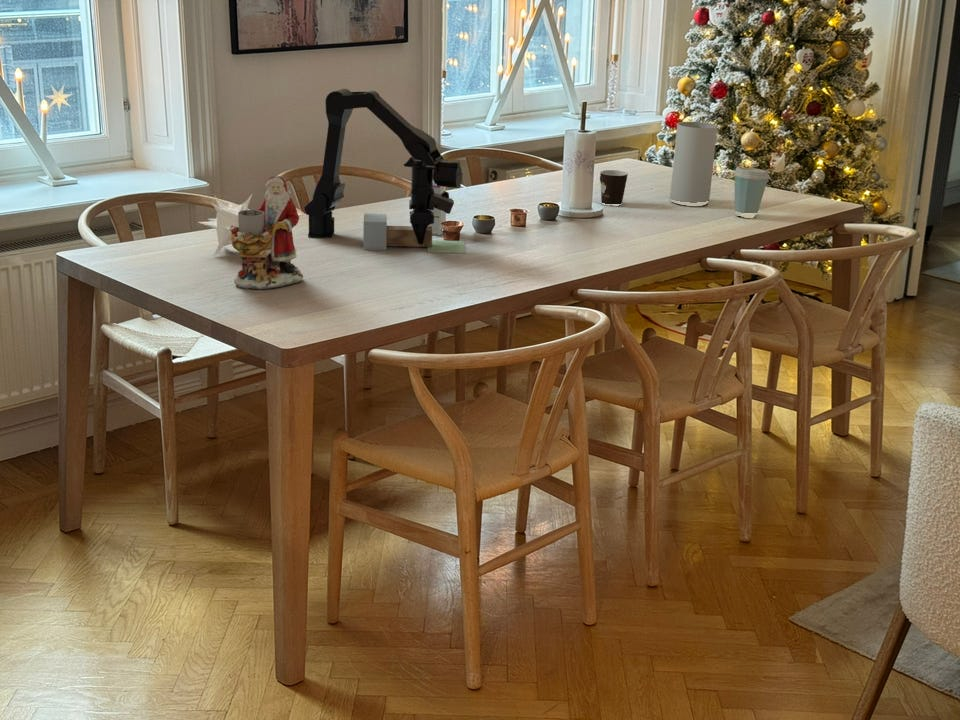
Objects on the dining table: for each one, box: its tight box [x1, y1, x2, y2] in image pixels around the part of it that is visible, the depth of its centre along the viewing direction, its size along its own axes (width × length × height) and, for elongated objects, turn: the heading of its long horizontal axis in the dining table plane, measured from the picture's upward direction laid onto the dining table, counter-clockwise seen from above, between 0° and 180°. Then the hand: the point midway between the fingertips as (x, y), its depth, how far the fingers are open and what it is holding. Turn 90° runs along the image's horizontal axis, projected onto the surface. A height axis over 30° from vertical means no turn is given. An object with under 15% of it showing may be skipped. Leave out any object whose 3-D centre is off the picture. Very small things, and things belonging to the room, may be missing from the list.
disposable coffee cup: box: [733, 167, 770, 214], centre depth 362 cm, size 11×11×15 cm
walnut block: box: [386, 225, 433, 248], centre depth 314 cm, size 16×4×4 cm, turn 94°
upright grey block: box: [362, 212, 388, 251], centre depth 313 cm, size 6×9×8 cm, turn 4°
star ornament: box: [197, 194, 253, 257], centre depth 301 cm, size 20×14×14 cm
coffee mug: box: [599, 169, 629, 204], centre depth 373 cm, size 12×9×10 cm
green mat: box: [427, 239, 467, 254], centre depth 316 cm, size 10×12×1 cm
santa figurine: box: [230, 175, 304, 290], centre depth 276 cm, size 17×14×25 cm
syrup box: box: [427, 181, 447, 236], centre depth 328 cm, size 6×6×14 cm
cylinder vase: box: [669, 121, 718, 203], centre depth 375 cm, size 12×12×25 cm
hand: (420, 241), depth 315 cm, fingers closed on walnut block, 4 cm apart
